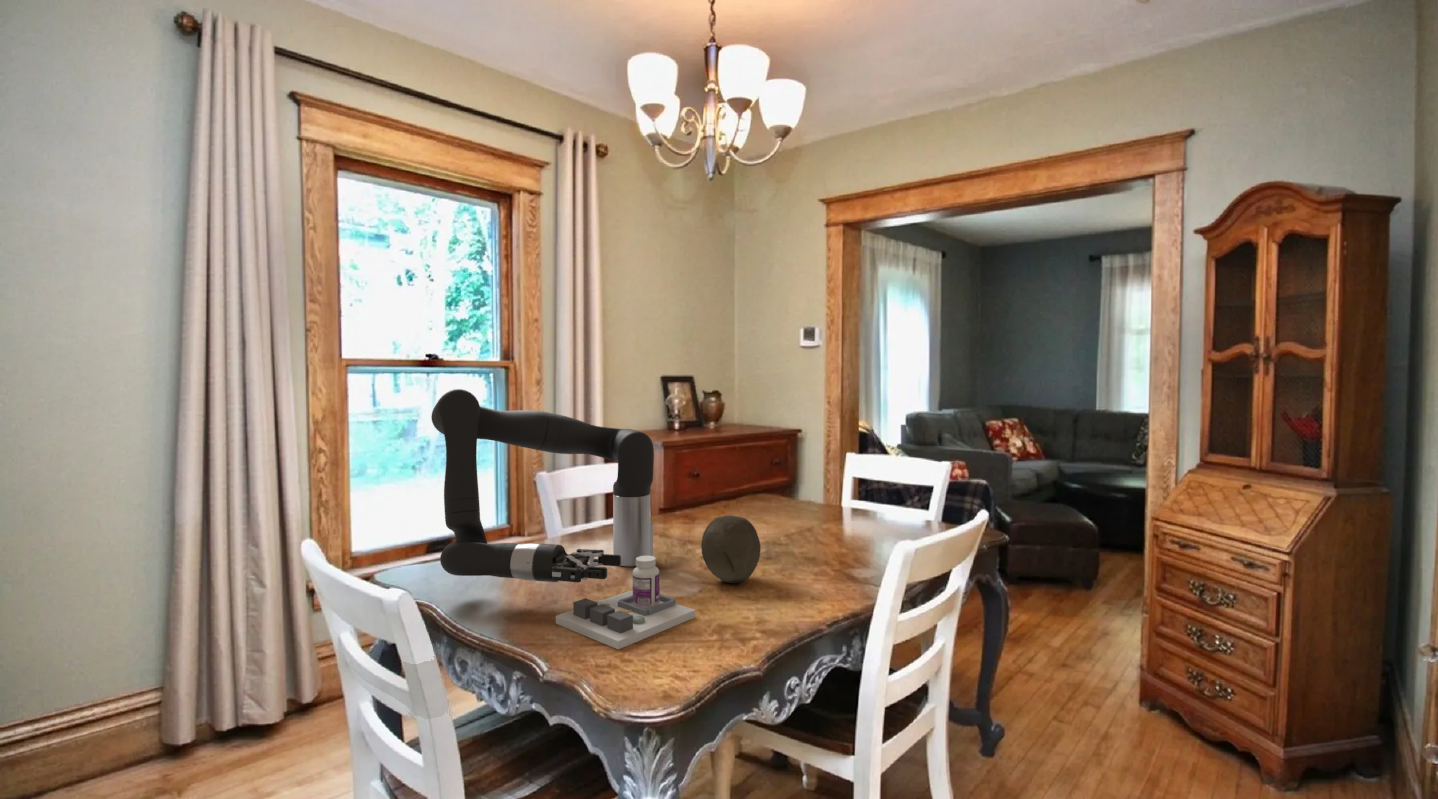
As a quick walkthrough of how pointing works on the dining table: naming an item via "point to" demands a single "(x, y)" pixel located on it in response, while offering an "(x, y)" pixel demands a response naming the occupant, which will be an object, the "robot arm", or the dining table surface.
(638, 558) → the pill bottle
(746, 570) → the dark grey rounded stone
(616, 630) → the board
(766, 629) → the dining table surface
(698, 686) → the dining table surface
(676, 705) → the dining table surface
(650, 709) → the dining table surface
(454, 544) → the robot arm
